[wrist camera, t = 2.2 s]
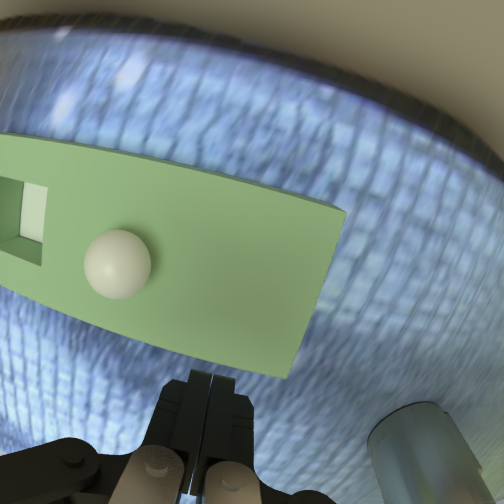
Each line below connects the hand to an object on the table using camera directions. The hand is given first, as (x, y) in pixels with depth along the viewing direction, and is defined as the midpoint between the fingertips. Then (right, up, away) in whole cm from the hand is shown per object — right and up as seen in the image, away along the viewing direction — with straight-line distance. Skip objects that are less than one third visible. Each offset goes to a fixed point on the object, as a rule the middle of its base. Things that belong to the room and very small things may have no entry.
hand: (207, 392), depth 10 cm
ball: (-6, +4, +7) cm, 10 cm away
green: (-8, +6, +13) cm, 16 cm away
